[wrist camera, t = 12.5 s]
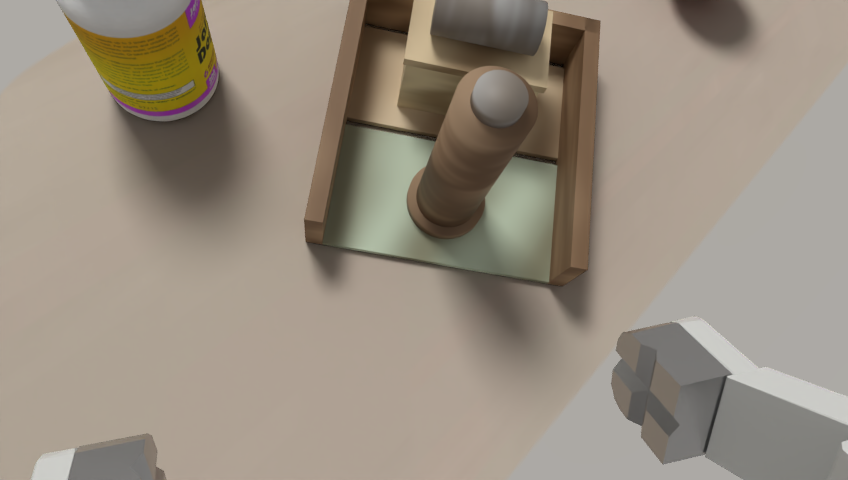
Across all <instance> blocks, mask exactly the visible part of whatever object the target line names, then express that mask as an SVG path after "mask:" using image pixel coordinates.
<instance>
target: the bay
mask: <svg viewBox="0 0 848 480" xmlns="http://www.w3.org/2000/svg"><path fill="white" fill-rule="evenodd" d="M413 2H414V0H350V2H349V7H348V12H347V16H346V21H345V26H344V31H343V36H342V40H341V45H340V50H339V55H338V60H337V64H336V69H335V74H334V79H333V84H332V88H331V93H330V98H329V103H328V108H327V112H326V117H325V122H324V127H323V132H322V136H321V141H320V146H319V151H318V156H317V160H316V165H315V170H314V175H313V180H312V184H311V189H310V194H309V199H308V204H307V208H306V213H305V218H304V223H305V238H306V242H310V243H316V244H322V245H327V246H333V247H339V248H345V249H350V250H356V251H362V252H368V253H373V254H379V255H385V256H391V257H396V258H402V259H408V260H414V261H419V262H425V263H431V264H437V265H442V266H448V267H454V268H460V269H465V270H471V271H477V272H483V273H488V274H494V275H500V276H505V277H511V278H517V279H523V280H528V281H534V282H540V283H546V284H551V285H557V286H564V285H565V284H567V283H568V282H570V281H571V280H573V279H574V278H576V277H577V276H579V275H580V274H582V273H583V272H585V271H586V270H588V254H589V234H590V214H591V195H592V175H593V156H594V136H595V117H596V97H597V78H598V58H599V39H600V21H599V20H594V19H590V18H585V17H581V16H576V15H572V14H567V13H563V12H558V11H554V10H549V9H548V10H549V11H553V20H552V33H551V45H550V57H549V63H554V64H559V65H563V68H561V67H556V66H552V65H549V70H548V82H547V89H546V91H545V92H544V94H543V93H538V95H537V96H536V98H537V102H538V116H537V120H536V123H535V125H534V126H533V128H532V129H531V131H530V132H529V134H528V135H527V137H526V138H525V140H524V141H523V142H522V144H521V145H520V147H519V148H518V150H517V151H516V153H517V154H522V155H527V156H533V157H538V158H543V159H548V160H553V161H556V164H555V165H553V164H548V163H543V162H538V161H533V160H528V159H522V158H517V157H512V159H511V160H510V162H509V163H508V164H507V166H506V167H505V169H504V170H503V172H502V173H501V175H500V176H499V178H498V179H497V181H496V182H495V183H494V185H493V186H492V188H491V189H490V191H489V192H488V194H487V195H486V197H485V208H484V212H483V214H482V216H481V218H480V220H479V221H478V223H477V224H476V225H475V227H474V228H473V229H472V230H471V231H470V232H468V233H467V234H465V235H463V236H461V237H458V238H454V239H439V238H435V237H432V236H430V235H428V234H426V233H424V232H423V231H422V230H420V229H419V228H418V227H417V226H416V225H415V223H414V222H413V221H412V219H411V217H410V215H409V212H408V209H407V202H406V199H407V192H408V189H409V186H410V184H411V181H412V179H413V178H414V176H415V175H416V174H417V173H418V172H419V171H420V170H421V169H422V168H424V167H426V165H427V162H428V160H429V157H430V155H431V152H432V150H433V147H434V145H435V141H430V140H425V139H420V138H415V137H410V136H404V135H399V134H394V133H389V132H384V131H379V130H374V129H368V128H363V127H358V126H353V125H348V124H346V121H347V120H348V121H353V122H359V123H364V124H369V125H374V126H379V127H384V128H389V129H394V130H400V131H405V132H410V133H415V134H420V135H425V136H430V137H435V138H437V137H438V134H439V132H440V129H441V127H442V124H443V121H444V119H445V115H440V114H435V113H430V112H425V111H420V110H415V109H410V108H405V107H400V106H397V102H398V96H399V90H400V84H401V78H402V72H403V66H404V65H403V61H404V55H405V49H406V43H407V37H408V35H405V34H400V33H396V32H391V31H386V30H382V29H377V28H372V27H367V26H365V24H370V25H375V26H380V27H384V28H389V29H394V30H399V31H403V32H408V31H409V25H410V19H411V14H412V8H413Z"/></svg>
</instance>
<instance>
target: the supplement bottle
mask: <svg viewBox="0 0 848 480" xmlns="http://www.w3.org/2000/svg"><path fill="white" fill-rule="evenodd" d="M56 1H57V3H58V5H59V6H60V8H61V10H62V12H63V13H64V15H65V16H66V18H67V20H68V21H69V23H70V25H71V27H72V28H73V30H74V32H75V33H76V35H77V37H78V38H79V40H80V42H81V44H82V45H83V47H84V49H85V51H86V52H87V54H88V56H89V57H90V59H91V61H92V63H93V64H94V66H95V68H96V70H97V71H98V73H99V75H100V77H101V78H102V80H103V82H104V84H105V85H106V87H107V88H108V90H109V92H110V93H111V95H112V96H113V98H114V99H115V100H116V102H117V103H118V104H119V105H120V106H121V107H123V108H124V109H125V110H127V111H128V112H130V113H131V114H133V115H135V116H138V117H140V118H143V119H147V120H153V121H173V120H177V119H181V118H184V117H186V116H189V115H191V114H193V113H195V112H196V111H198V110H199V109H201V108H202V107H203V106H204V105H205V104H206V103H207V102H208V101H209V100H210V98H211V97H212V95H213V94H214V92H215V89H216V87H217V84H218V78H219V68H218V62H217V58H216V54H215V50H214V46H213V42H212V38H211V34H210V31H209V27H208V23H207V20H206V16H205V12H204V8H203V5H202V1H201V0H56Z"/></svg>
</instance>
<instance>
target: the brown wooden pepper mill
mask: <svg viewBox="0 0 848 480" xmlns="http://www.w3.org/2000/svg"><path fill="white" fill-rule="evenodd" d="M537 116H538V102H537V98H536V95H535V93H534V91H533V89H532V87H531V86H530V85H529V83H528V82H527V81H526V80H525V79H524V78H523V77H521V76H520V75H519V74H517V73H516V72H514V71H512V70H509V69H507V68H503V67H499V66H484V67H479V68H476V69H474V70H472V71H470V72H469V73H467V74H466V75H465V76H464V77H463V78H462V79H461V81H460V82H459V84H458V86H457V88H456V91H455V93H454V96H453V98H452V101H451V104H450V106H449V109H448V111H447V114H446V116H445V119H444V121H443V124H442V127H441V129H440V132H439V134H438V137H437V139H436V142H435V145H434V147H433V150H432V152H431V155H430V157H429V160H428V162H427V165H426V167H424V168H422V169H421V170H420V171H419V172H418V173H417V174H416V175H415V176H414V178H413V179H412V181H411V184H410V186H409V189H408V192H407V199H406V202H407V209H408V212H409V215H410V217H411V219H412V221H413V222H414V223H415V225H416V226H417V227H418V228H419V229H420V230H422V231H423V232H424V233H426V234H428V235H430V236H432V237H435V238H439V239H454V238H458V237H461V236H463V235H465V234H467V233H468V232H470V231H471V230H472V229H473V228H474V227H475V225H476V224H477V223H478V221H479V220H480V218H481V216H482V214H483V212H484V208H485V197H486V195H487V194H488V192H489V191H490V189H491V188H492V186H493V185H494V183H495V182H496V181H497V179H498V178H499V176H500V175H501V173H502V172H503V170H504V169H505V167H506V166H507V164H508V163H509V162H510V160H511V159H512V157H513V156H514V154H515V153H516V151H517V150H518V148H519V147H520V145H521V144H522V142H523V141H524V140H525V138H526V137H527V135H528V134H529V132H530V131H531V129H532V128H533V126H534V125H535V123H536V120H537Z"/></svg>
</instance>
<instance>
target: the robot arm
mask: <svg viewBox="0 0 848 480" xmlns="http://www.w3.org/2000/svg"><path fill="white" fill-rule="evenodd" d="M616 351H617V352H618V354H619V355H620V356H621V358H622V359H621V360H620V361H619V362H618V364H617V365H616V366H615V367H614V369H613V373H612V382H611V385H612V389H613V394H614V399H615V401H616V402H617V405H618V407H619V409H620V410H621V412H622V413H623V414H624V416H625V417H626V418H627V419H628V420H630V421H632V422H634V423H636V424H639V425H641V426H642V429H641V438H642V439H643V440H644V441H645V442H646V444H647V445H648V446H649V448H650V449H651V450H652V451H653V452H654V454H655V455H656V457H657V458H658V459H659V460H660V462H661V463H662V464H667V463H671V462H675V461H680V460H684V459H688V458H692V457H696V456H701V455H704V454H706V455H705V457H706V458H708V459H710V460H711V461H713V462H715V463H716V464H718V465H720V466H721V467H723V468H725V469H726V470H728V471H730V472H731V473H733V474H735V475H736V476H738V477H740V478H742V479H743V480H848V397H847V396H845V395H842V394H839V393H836V392H833V391H831V390H828V389H825V388H823V387H820V386H817V385H814V384H812V383H809V382H806V381H803V380H801V379H798V378H795V377H793V376H789V375H787V374H784V373H781V372H779V371H776V370H773V369H770V368H768V367H764V368H761V369H759V368H758V367H757V366H756V365H755V364H753V363H752V362H751V361H750V360H749V359H748V358H747V357H745V356H744V355H743V354H742V353H741V352H740V351H739V350H737V349H736V348H735V347H734V346H733V345H732V344H731V343H729V342H728V341H727V340H726V339H725V338H724V337H723V336H721V335H720V334H719V333H718V332H717V331H716V330H714V329H713V328H712V327H711V326H710V325H709V324H708V323H707V322H705V321H704V320H703V319H701V318H698V317H695V316H693V317H689V318H685V319H680V320H676V321H671V322H670V323H665V324H659V325H655V326H650V327H646V328H642V329H637V330H632V331H628V332H623V333H622V334H621V335H620V337H619V338H618V342H617V347H616ZM156 462H157V448H156V445H155V443H154V440H153V437H152V435H150V434H143V435H137V436H132V437H127V438H122V439H116V440H111V441H106V442H100V443H95V444H90V445H85V446H80V447H79V448H73V449H67V450H62V451H57V452H51V453H46V454H43V455H42V456H41V457H40V458H39V460H38V461H37V462H36V464H35V467H34V471H33V474H32V477H31V480H166V476H165V473H164V471H163V470H161V469H159V468H158V467H156Z"/></svg>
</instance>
